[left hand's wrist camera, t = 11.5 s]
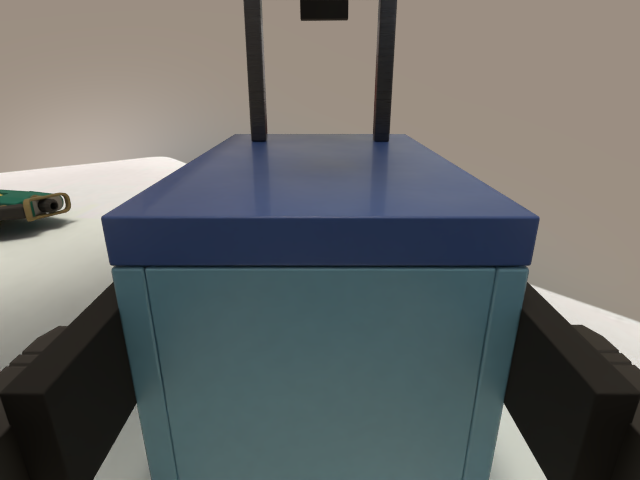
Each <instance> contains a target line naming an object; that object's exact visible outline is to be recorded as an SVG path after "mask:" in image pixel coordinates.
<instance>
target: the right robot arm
mask: <svg viewBox="0 0 640 480" xmlns="http://www.w3.org/2000/svg"><path fill="white" fill-rule="evenodd" d="M300 12H301V21H320V20H348V0H300Z"/></svg>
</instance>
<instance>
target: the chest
mask: <svg viewBox="0 0 640 480" xmlns="http://www.w3.org/2000/svg"><path fill="white" fill-rule="evenodd" d="M528 274H529V270H528V268H527V267H526V266H284V265H115V266H114V267H113V268H112V276H113V282H114V287H115V292H116V297H117V303H118V308H119V313H120V318H121V323H122V328H123V333H124V339H125V344H126V349H127V354H128V360H129V365H130V370H131V375H132V380H133V386H134V391H135V396H136V401H137V407H138V412H139V418H140V423H141V428H142V433H143V438H144V444H145V449H146V454H147V459H148V465H149V470H150V475H151V480H489V476H490V471H491V466H492V461H493V456H494V450H495V445H496V440H497V435H498V430H499V424H500V419H501V414H502V409H503V404H504V398H505V393H506V388H507V383H508V377H509V372H510V367H511V362H512V357H513V351H514V346H515V341H516V336H517V331H518V325H519V320H520V315H521V310H522V305H523V300H524V294H525V289H526V284H527V279H528Z"/></svg>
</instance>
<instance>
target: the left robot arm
mask: <svg viewBox="0 0 640 480" xmlns="http://www.w3.org/2000/svg"><path fill="white" fill-rule="evenodd" d="M136 403H137V401H136V396H135V391H134V386H133V380H132V375H131V370H130V365H129V360H128V354H127V349H126V344H125V339H124V333H123V328H122V323H121V318H120V313H119V308H118V303H117V297H116V292H115V287H114V282H113V283H112V284H111V285H110V286H109V287H108V288H107V289H106V290H105V291H104V292H103V293H102V294H101V295H99V296H98V297H97V298H96V299H95V300H94V301H93V302H92V303H91V304H90V305H89V306H88V307H87V308H86V309H85V310H84V311H83V312H82V313H81V314H80V315H79V316H78V317H77V318H76V319H75V320H74V321H73V322H72V323H71V324H70V325H69V326H58V327H57V328H55V329H53V330H51V331H49V332H48V333H46V334H44V335H42V336H40V337H39V338H37V339H36V340H35V341H34V342H33V343H32V344H30V345H29V346H28V347H27V348H26V349H25V350H24V351H23V352H22V355H18V356H17V357H16V358H15V359H14V360H13V361H12V362H11V363H10V365H9V367H5V368H4V369H3V370H2V371H1V372H0V480H93V479H94V477H95V475H96V474H97V472H98V470H99V468H100V467H101V465H102V463H103V461H104V459H105V458H106V456H107V454H108V452H109V451H110V449H111V447H112V445H113V444H114V442H115V440H116V438H117V437H118V435H119V433H120V431H121V430H122V428H123V426H124V424H125V423H126V421H127V419H128V417H129V415H130V414H131V412H132V410H133V408H134V407H135V405H136ZM504 404H505V406H506V408H507V409H508V411H509V413H510V415H511V416H512V418H513V420H514V422H515V423H516V425H517V427H518V429H519V430H520V432H521V434H522V436H523V438H524V439H525V441H526V443H527V445H528V446H529V448H530V450H531V452H532V453H533V455H534V457H535V459H536V460H537V462H538V464H539V466H540V467H541V469H542V471H543V473H544V474H545V476H546V478H547V480H640V369H639V368H638V367H636V366H635V365H632V364H631V361H630V360H629V359H628V358H626V357H625V356H624V355H623V354H622V353H619V350H618V349H617V348H615V347H614V346H613V345H612V344H611V343H610V342H609V341H608V340H607V339H605V338H604V337H603V336H601V335H600V334H598V333H596V332H594V331H592V330H591V329H589V328H587V327H585V326H583V325H571V324H570V323H569V322H568V321H567V320H566V319H565V318H564V317H563V316H562V315H561V314H560V313H558V312H557V311H556V310H555V309H554V308H553V307H552V306H551V305H550V304H549V303H548V302H547V301H546V300H545V299H544V298H543V297H542V296H541V295H540V294H539V293H538V292H537V291H536V290H535V289H534V288H533V287H532V286H531V285H530V284H529V283H528V282H527V284H526V289H525V294H524V300H523V305H522V310H521V315H520V320H519V325H518V331H517V336H516V341H515V346H514V351H513V357H512V362H511V367H510V372H509V377H508V383H507V388H506V393H505V398H504Z"/></svg>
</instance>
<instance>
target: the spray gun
mask: <svg viewBox="0 0 640 480" xmlns="http://www.w3.org/2000/svg"><path fill="white" fill-rule="evenodd" d="M60 195H62V196H63V197H64V199H65V203H66V207H65V209H63V210H61V211H58V210H60V209H61V208H62V207H63V198H62V197H61V196H60ZM70 208H71V202H70V198H69V196H68V195H67V194H66V193H55V194H51V193H42V192H34V191H13V190H0V221H1V220H13V219H25V218H26V219H27V221H28V222H29V221H34V220H36V219H41V218H45V217H49V216H53V215H57V214H61V213H66V212H68V211H69V210H70Z"/></svg>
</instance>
